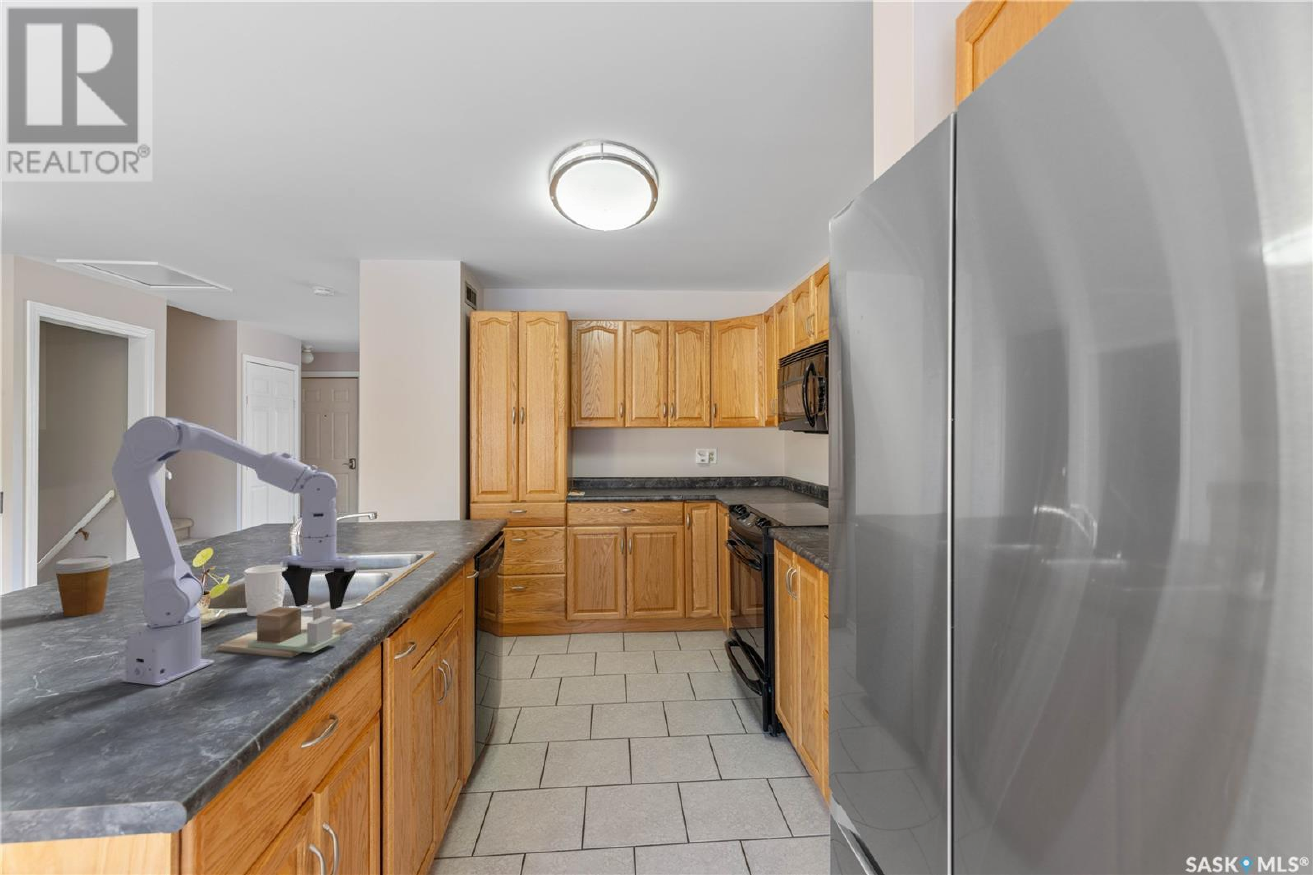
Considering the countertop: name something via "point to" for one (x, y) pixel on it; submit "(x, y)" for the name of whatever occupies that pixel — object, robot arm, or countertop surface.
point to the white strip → (308, 619)
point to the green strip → (305, 638)
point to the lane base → (242, 647)
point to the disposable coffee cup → (82, 584)
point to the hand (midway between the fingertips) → (318, 606)
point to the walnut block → (278, 624)
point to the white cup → (264, 588)
